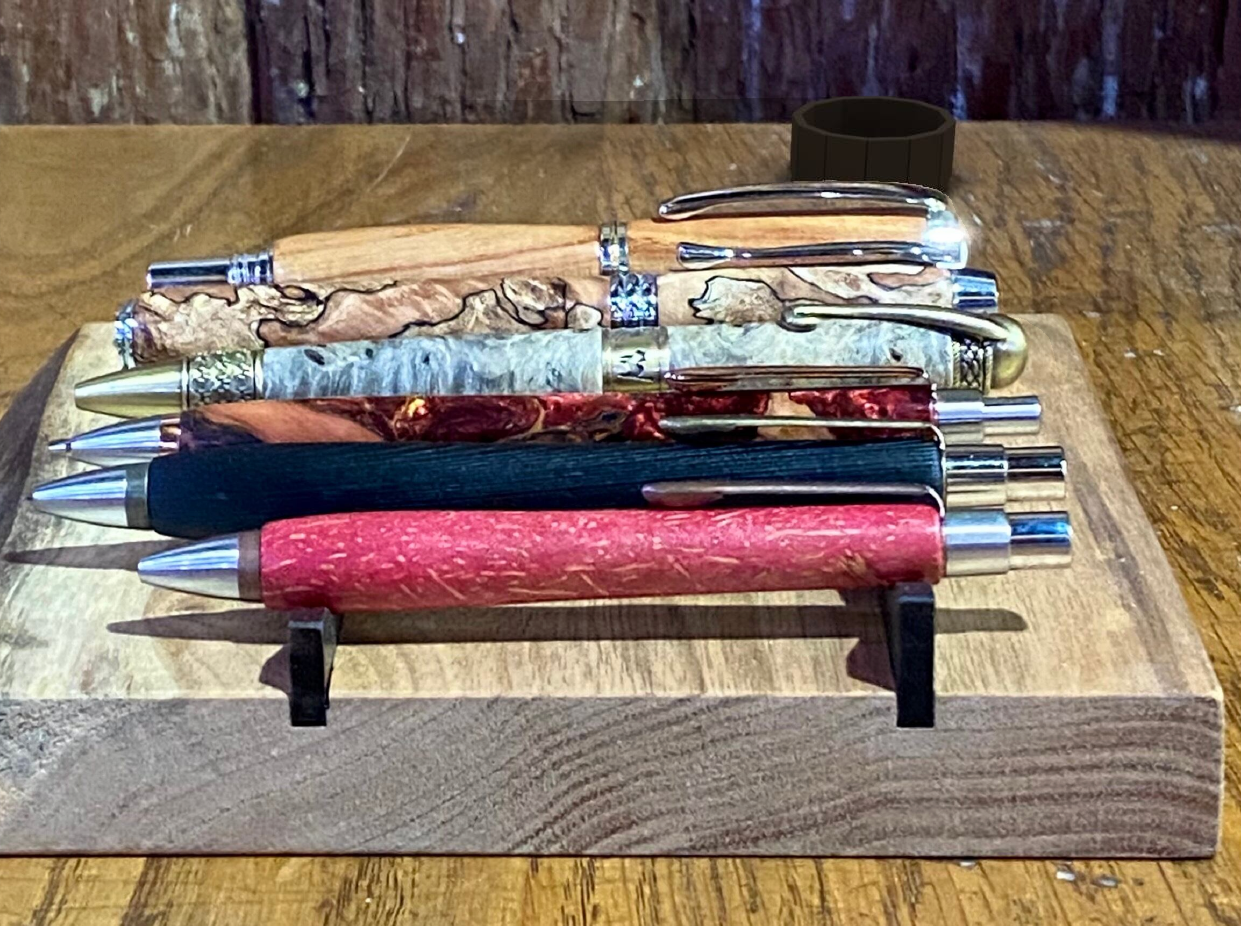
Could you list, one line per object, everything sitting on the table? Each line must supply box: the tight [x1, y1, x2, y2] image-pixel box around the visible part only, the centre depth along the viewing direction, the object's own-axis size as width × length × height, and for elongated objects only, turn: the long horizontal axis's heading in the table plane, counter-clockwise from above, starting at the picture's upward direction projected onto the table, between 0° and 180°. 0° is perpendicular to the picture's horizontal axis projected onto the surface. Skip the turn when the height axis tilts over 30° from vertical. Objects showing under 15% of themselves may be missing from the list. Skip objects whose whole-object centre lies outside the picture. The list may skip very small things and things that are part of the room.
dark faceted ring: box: [789, 95, 957, 193], centre depth 108 cm, size 8×8×3 cm
